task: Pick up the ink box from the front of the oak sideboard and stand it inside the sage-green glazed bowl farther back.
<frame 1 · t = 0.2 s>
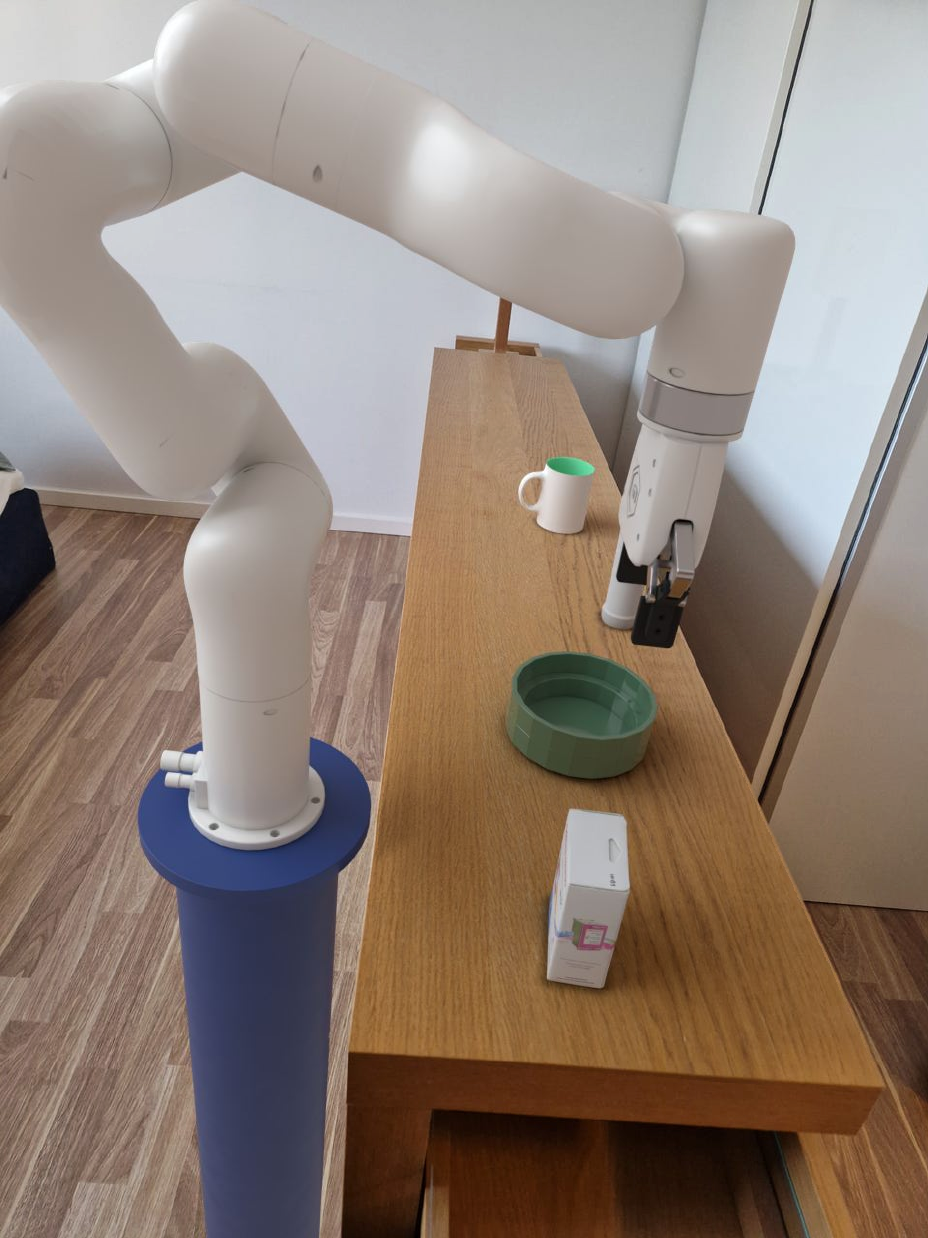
hand: (641, 611, 70), 27 cm above the cabinet, tool pointing down, fingers open, 9 cm apart
bowl: (574, 734, 100), on the cabinet
bottle: (618, 621, 123), on the cabinet
ink box: (573, 945, 75), on the cabinet
mug: (548, 523, 149), on the cabinet
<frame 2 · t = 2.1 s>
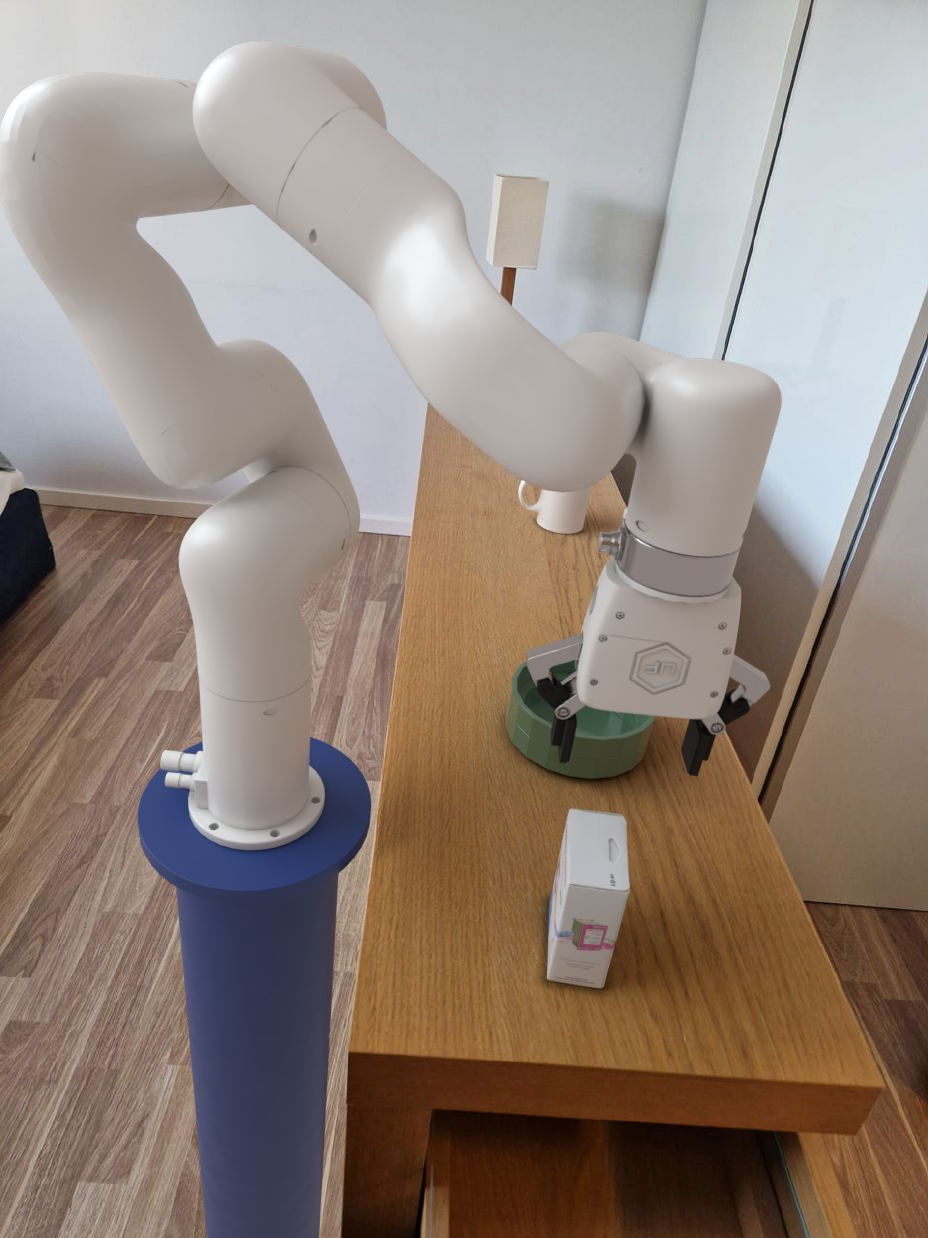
hand: (625, 757, 66), 20 cm above the cabinet, tool pointing down, fingers open, 9 cm apart
nothing on the cabinet moved.
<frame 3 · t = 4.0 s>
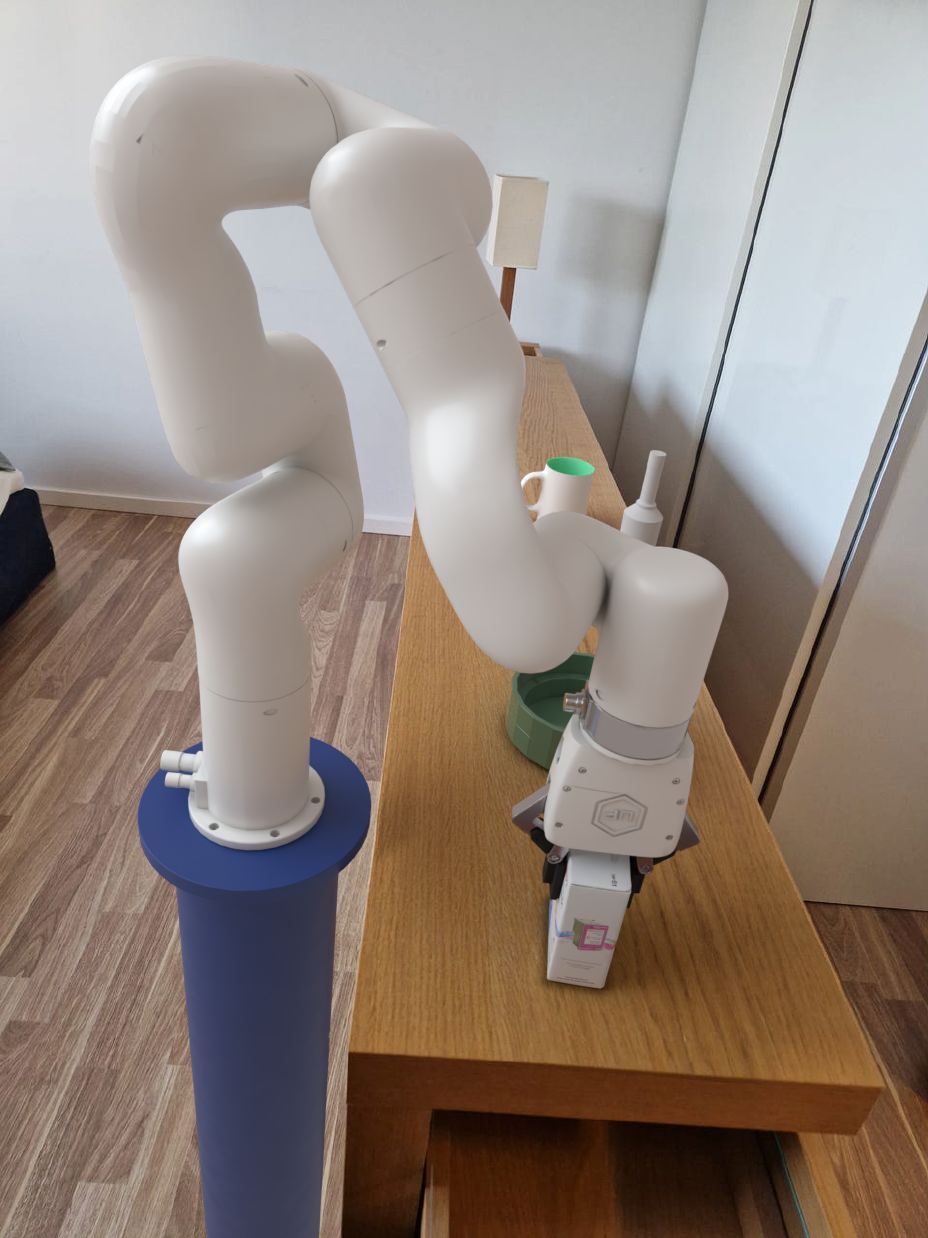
hand: (588, 889, 72), 7 cm above the cabinet, tool pointing down, fingers closed on ink box, 5 cm apart
ink box: (573, 945, 75), on the cabinet, touching gripper
everything else where it was.
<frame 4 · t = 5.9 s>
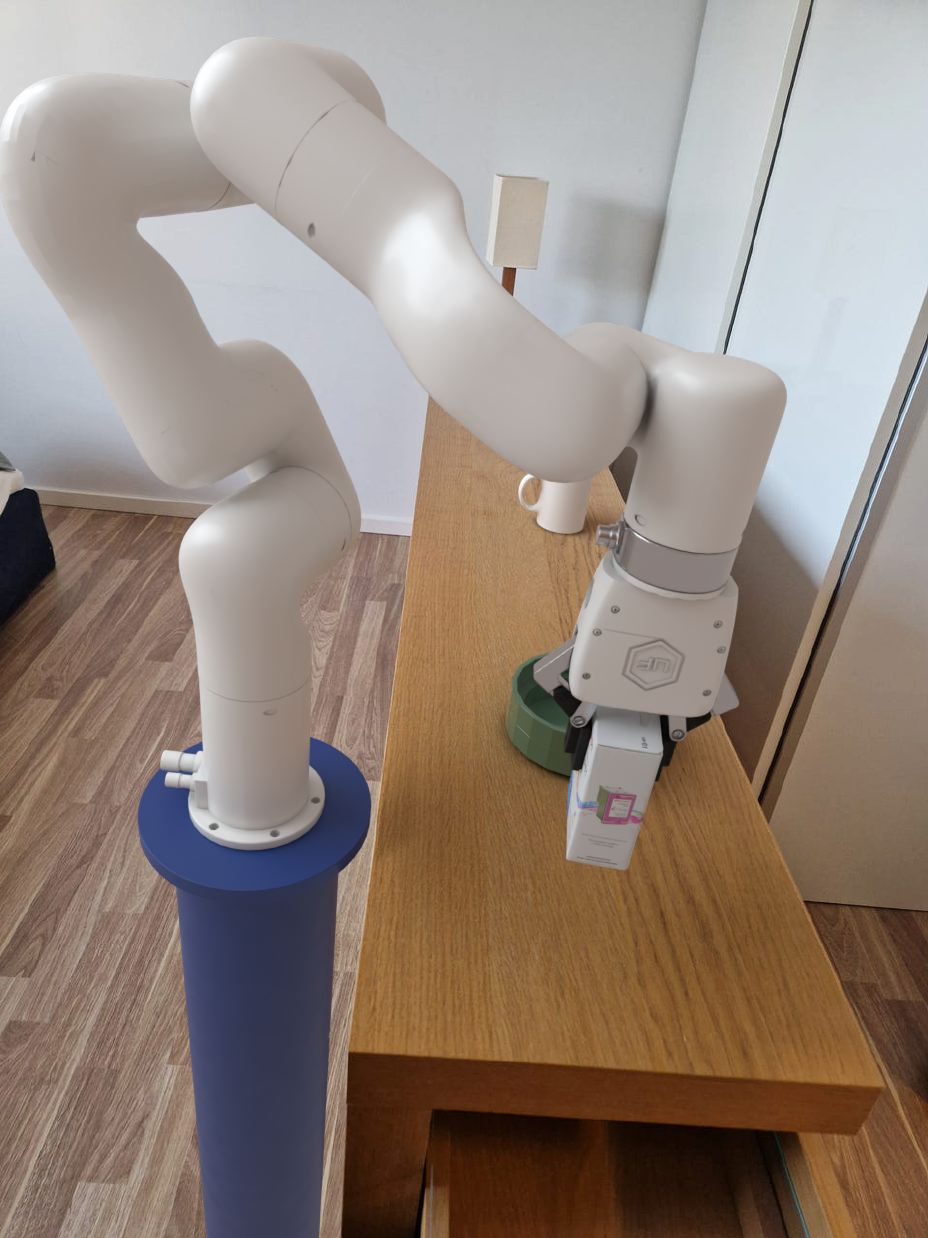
hand: (613, 762, 66), 20 cm above the cabinet, tool pointing down, fingers closed on ink box, 5 cm apart
ink box: (593, 828, 70), point 12 cm above the cabinet, touching gripper
everything else where it was.
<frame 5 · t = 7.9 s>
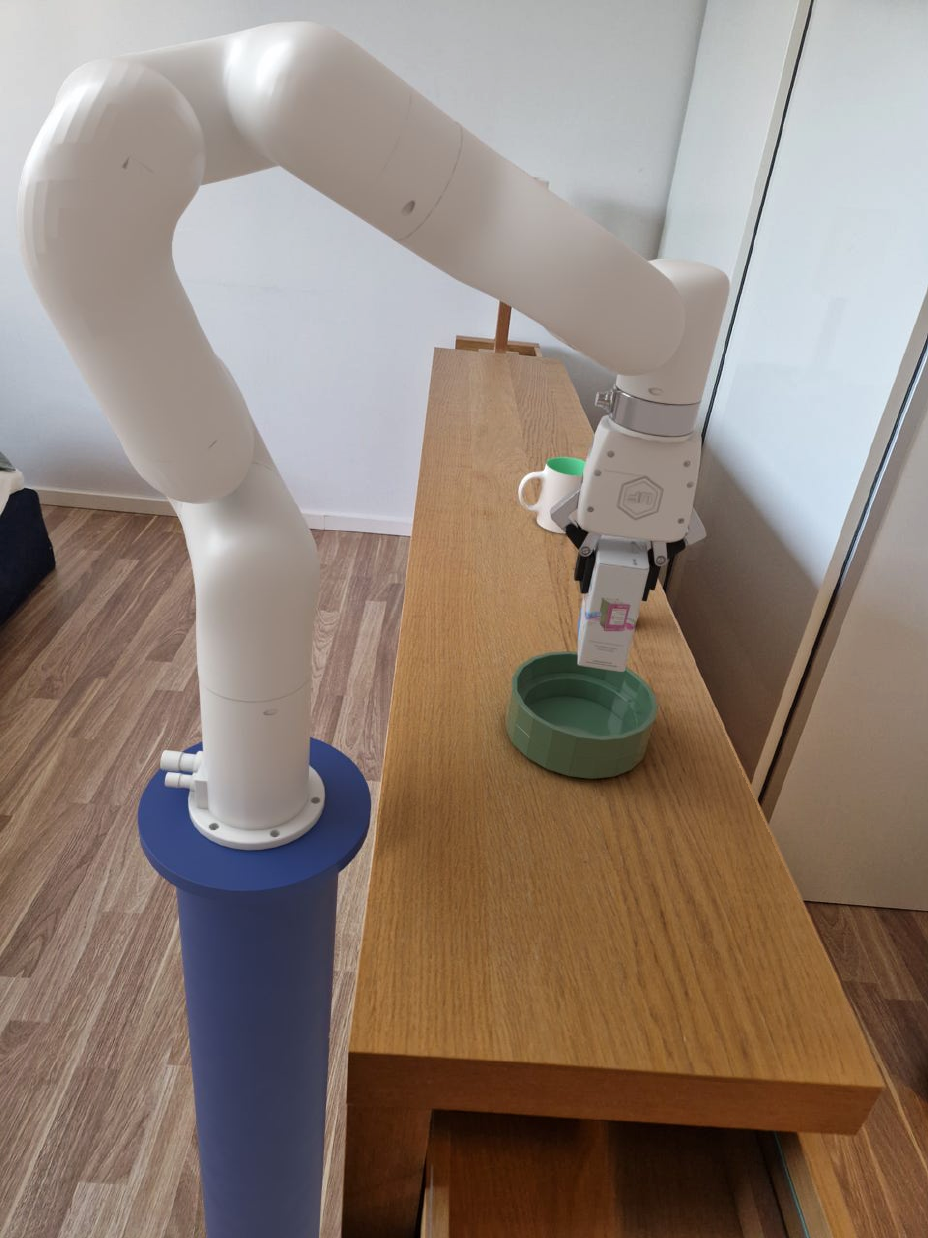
hand: (612, 589, 86), 21 cm above the cabinet, tool pointing down, fingers closed on ink box, 5 cm apart
ink box: (598, 648, 89), point 14 cm above the cabinet, touching gripper
everything else where it was.
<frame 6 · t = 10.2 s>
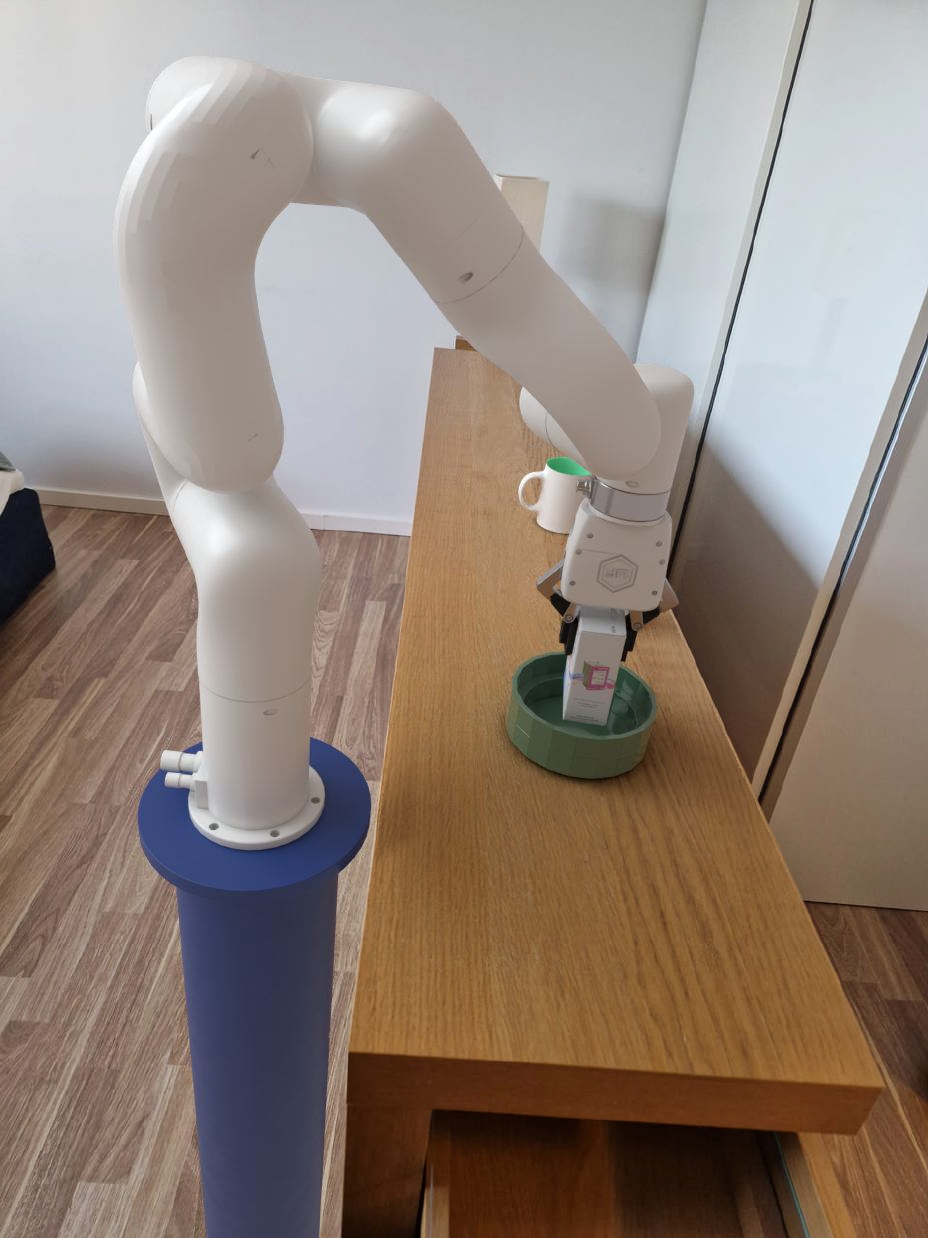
hand: (594, 650, 94), 12 cm above the cabinet, tool pointing down, fingers closed on ink box, 5 cm apart
ink box: (582, 702, 98), point 5 cm above the cabinet, touching gripper
everything else where it was.
when the fingers open (7 cm above the cabinet, at t = 11.7 s): ink box stays where it is, resting on bowl.
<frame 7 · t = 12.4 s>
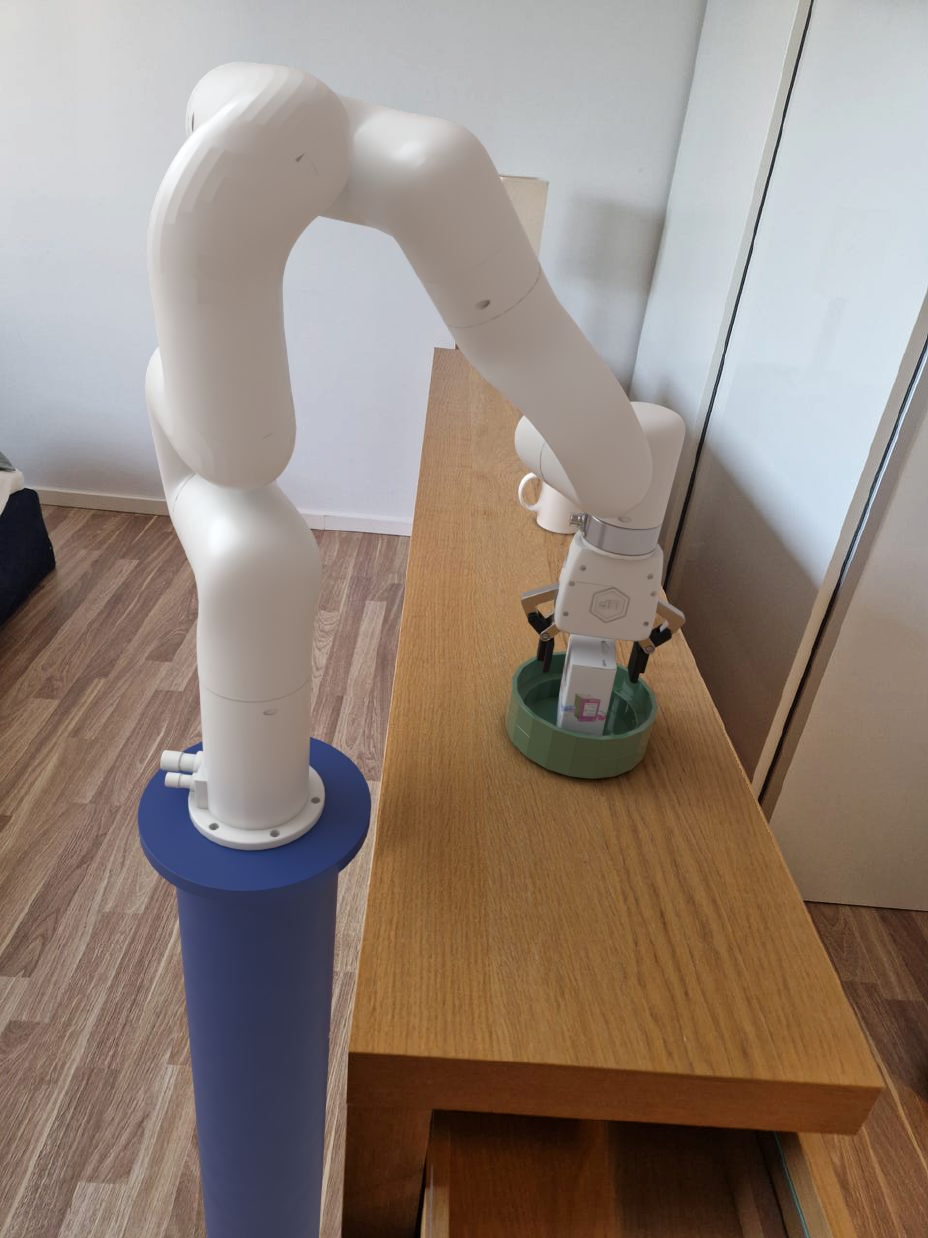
hand: (588, 671, 95), 9 cm above the cabinet, tool pointing down, fingers open, 9 cm apart
ink box: (575, 731, 100), resting on bowl
everything else where it was.
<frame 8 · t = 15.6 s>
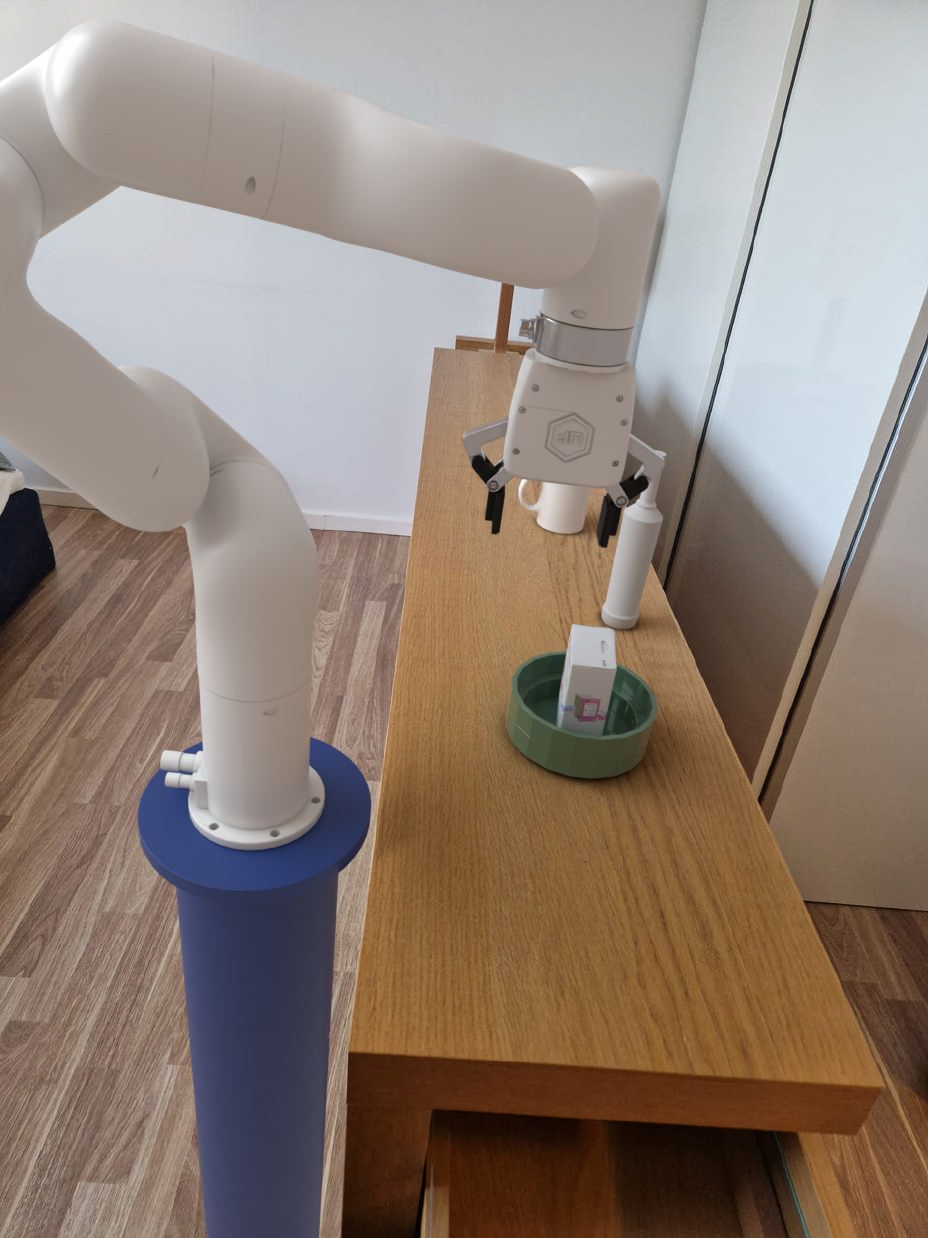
hand: (548, 534, 78), 28 cm above the cabinet, tool pointing down, fingers open, 9 cm apart
nothing on the cabinet moved.
at the end: ink box 0.0 cm off-centre in the bowl, point 0.4 cm above the bowl's base; ink box tilted 0° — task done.
